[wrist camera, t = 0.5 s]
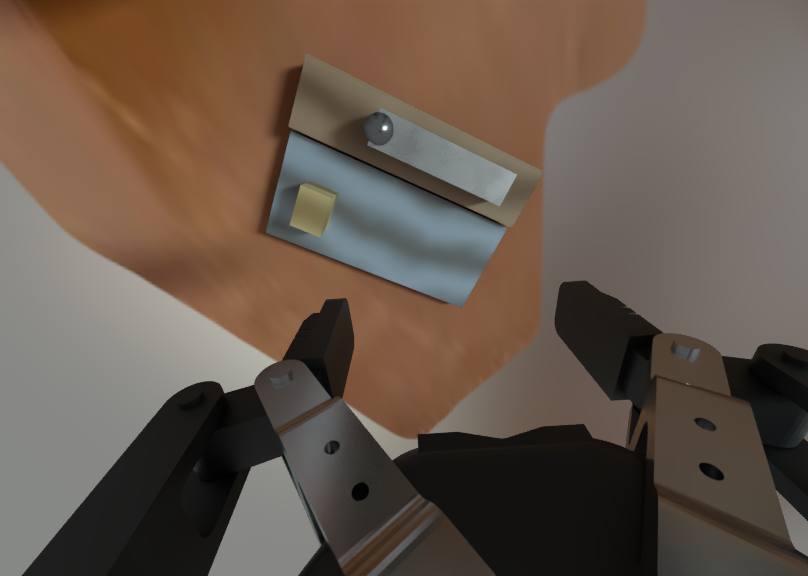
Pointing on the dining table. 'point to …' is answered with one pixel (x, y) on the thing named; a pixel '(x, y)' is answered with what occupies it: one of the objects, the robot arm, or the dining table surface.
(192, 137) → the dining table surface
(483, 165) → the lock bar
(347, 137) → the latched flap box
